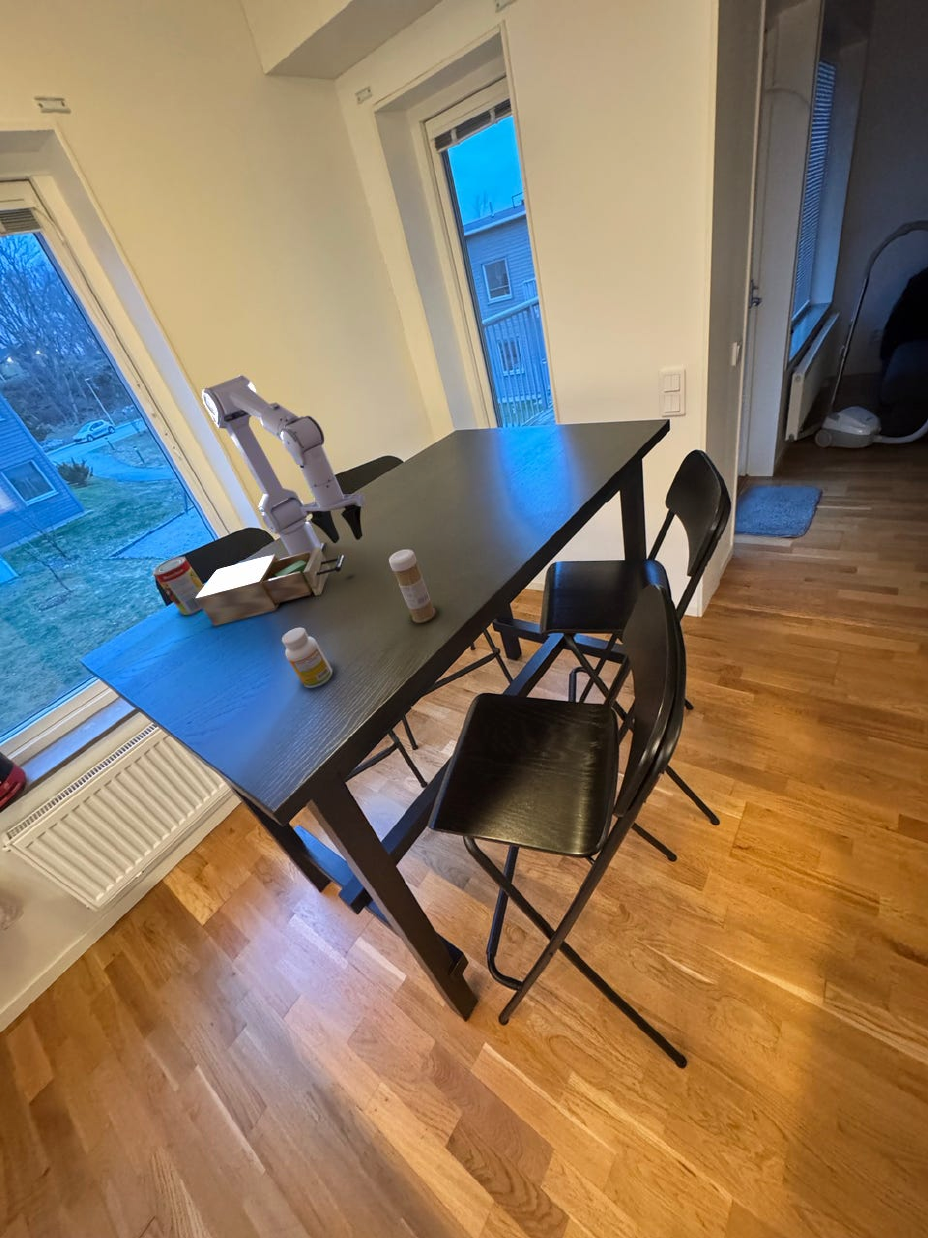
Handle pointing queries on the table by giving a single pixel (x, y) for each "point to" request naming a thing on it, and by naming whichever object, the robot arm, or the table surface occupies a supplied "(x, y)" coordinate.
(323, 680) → the supplement bottle
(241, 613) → the cabinet
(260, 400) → the robot arm
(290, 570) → the green block
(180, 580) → the canned food
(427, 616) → the sprinkles bottle
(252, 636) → the table surface
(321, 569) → the drawer
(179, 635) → the table surface
